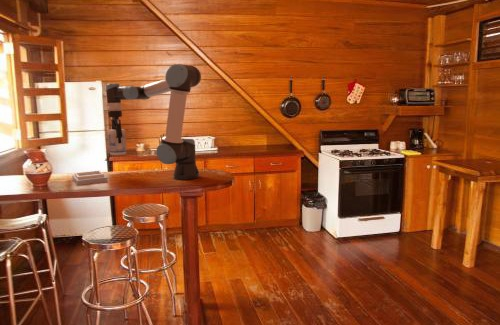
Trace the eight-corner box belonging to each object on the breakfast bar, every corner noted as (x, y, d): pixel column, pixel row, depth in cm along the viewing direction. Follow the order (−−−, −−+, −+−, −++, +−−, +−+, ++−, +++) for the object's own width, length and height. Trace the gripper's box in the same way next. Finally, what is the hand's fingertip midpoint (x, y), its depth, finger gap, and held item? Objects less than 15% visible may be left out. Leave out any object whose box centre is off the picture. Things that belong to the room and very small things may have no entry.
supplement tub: (106, 155, 231) (104, 130, 228) (117, 152, 239) (115, 129, 237) (119, 155, 227) (117, 130, 225) (130, 153, 236) (128, 129, 234)
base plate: (107, 181, 223) (107, 174, 222) (77, 185, 215) (76, 178, 214) (100, 176, 240) (100, 169, 239) (72, 179, 232) (72, 172, 231)
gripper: (104, 110, 237) (107, 147, 240) (112, 110, 218) (115, 150, 221) (117, 110, 241) (120, 146, 244) (125, 110, 222) (129, 149, 225)
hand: (118, 148), depth 233 cm, fingers closed on supplement tub, 9 cm apart
